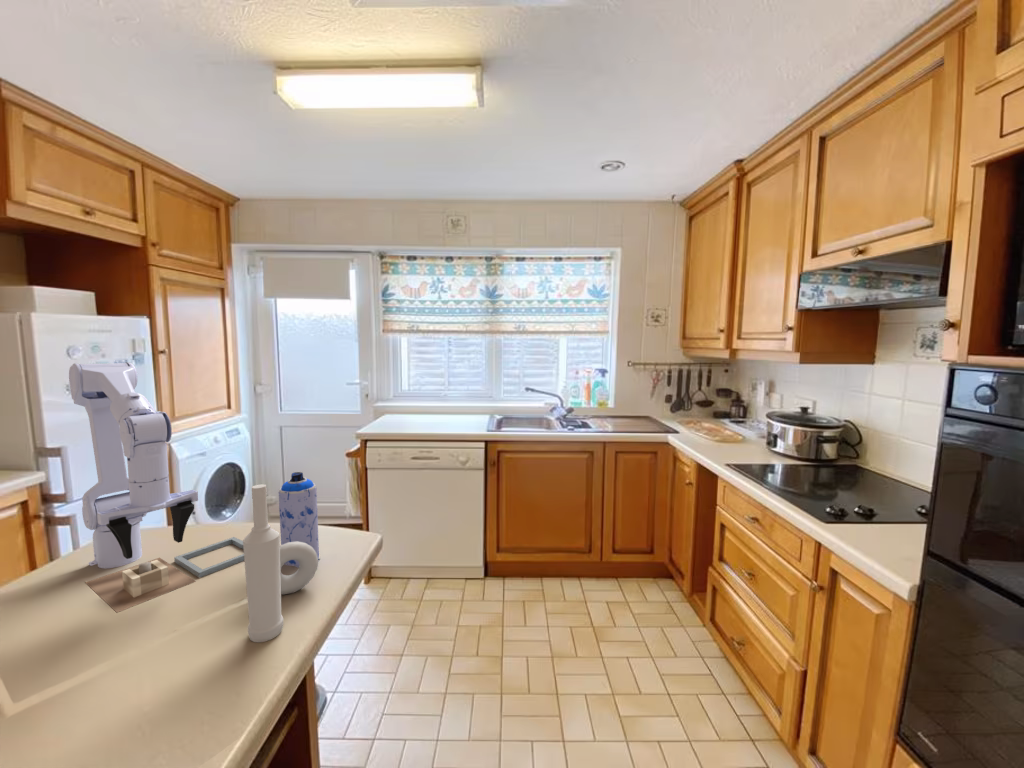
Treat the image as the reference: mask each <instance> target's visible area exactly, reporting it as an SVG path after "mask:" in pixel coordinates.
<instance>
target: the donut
mask: <svg viewBox="0 0 1024 768" xmlns="http://www.w3.org/2000/svg"><path fill="white" fill-rule="evenodd" d="M290 560H297V561H298V562H299V564H300V565H299V568H297V570H296V571H295V572H294V573H292V574H289V575H286V574H283V573H282V571H281V570H282V568H283V566H284V565H285V564H284V563H286V562H287V561H290ZM318 567H319V561H318V558H317V553H316V552H315V550H314V549H313V547H311V546H310V545H308V544H306V543H303V542H298V541H296V542H288V543H286V544H283V545H281V544H280V577H281V595H289V594H294V593H295V592H297V591H300V590H301V589H303V588H304V587H306V586H307V585H308V584H309V583H310V582H311V580H312V579H313V578H314V577H315V574H316V572H317V570H318Z"/></svg>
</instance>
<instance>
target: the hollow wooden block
mask: <svg viewBox="0 0 1024 768" xmlns="http://www.w3.org/2000/svg"><path fill="white" fill-rule="evenodd" d="M153 560H154V559H153ZM150 561H151V560H150ZM122 575H123V587H124V589H125V590H126V591H127V592H128V593H129V594H130V595H132V596H133V597H137V596H139V595H142V594H144V593H147V592H150V591H152V590H155V589H158V588H160V587H163V586H165V585H168V584H169V576H168V567H167V566H166V565H164V564H163V563H161V562H160V561H158V560H154V561H151V571H148V572H145V573H143V574H140V575H139V566H137V567H134V568H131V569H128V570H125V571H122Z"/></svg>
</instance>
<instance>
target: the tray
mask: <svg viewBox="0 0 1024 768" xmlns="http://www.w3.org/2000/svg"><path fill="white" fill-rule="evenodd" d="M229 545H234V546H236V547H238V548H239V549H240V550H241V549H242V550H243V551H244V548H243V540H241V539H239V538H238V537H235V536H233V537H229V538H227V539H224V540H221V541H218V542H215V543H212V544H208V545H205V546H203V547H201V548H197V549H195V550H192V551H188V552H186V553H183V554H180V555H176V556H174V559H173V560H174V563H175V564H177V565H178V566H180V567H182V568H183V569H185V570H187V572H189V573H192V574H193V575H194V576H196V577H197V578H199V579H200V578H203V577H206V576H208V575H210V574H213V573H216V572H218V571H220V570H224V569H226V568H228V567H229V568H230V567H231V566H234V565H236V564H239V563H241V562H243V561H244V553H242V554H240V555H239V554H238V555H237V556H234V557H232V558H229V559H226V560H224V561H221V562H218V563H216V564H212V565H211V566H207V567H205V568H203V569H202V568H201V567H199V566H198V565H196V564H194V563H193V562H191V560H190V559H193V558H195V557H198V556H201V555H204V554H207V553H210V552H213V551H215V550H218V549H221V548H223V547H226V546H227V547H228V546H229ZM244 562H245V561H244Z"/></svg>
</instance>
